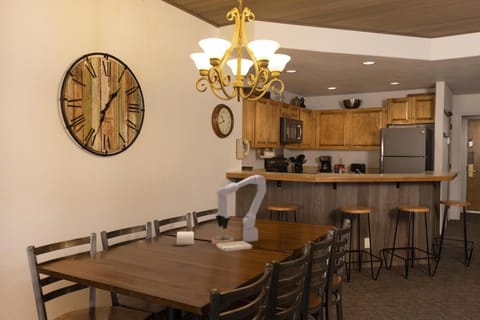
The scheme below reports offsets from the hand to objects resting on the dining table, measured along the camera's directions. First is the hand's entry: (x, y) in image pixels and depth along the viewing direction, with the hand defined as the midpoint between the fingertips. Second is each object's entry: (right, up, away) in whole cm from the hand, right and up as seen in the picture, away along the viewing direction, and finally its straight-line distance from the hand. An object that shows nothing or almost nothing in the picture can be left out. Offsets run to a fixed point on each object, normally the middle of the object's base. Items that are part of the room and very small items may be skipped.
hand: (222, 227), depth 247 cm
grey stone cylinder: (+2, -9, -1) cm, 9 cm away
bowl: (0, -10, -2) cm, 10 cm away
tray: (+8, -10, -15) cm, 19 cm away
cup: (-18, -7, -3) cm, 19 cm away
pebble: (-3, -9, -3) cm, 10 cm away
